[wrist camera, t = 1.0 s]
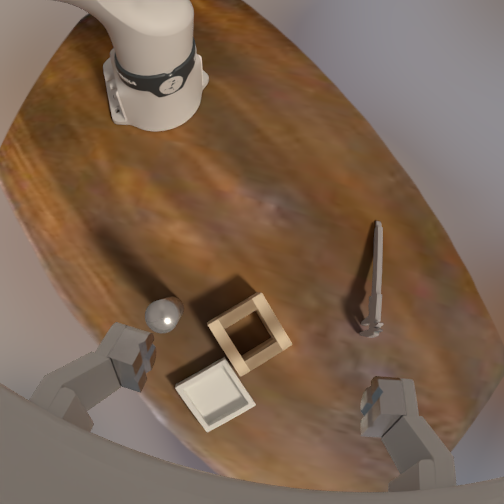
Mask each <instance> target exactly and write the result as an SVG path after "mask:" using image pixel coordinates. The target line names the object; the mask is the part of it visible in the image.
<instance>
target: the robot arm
mask: <svg viewBox="0 0 504 504" xmlns="http://www.w3.org/2000/svg"><path fill="white" fill-rule="evenodd" d="M54 1H60V2H65V3H68V4H72V5H74V6H77V7H79V8H81V9H83V10H85V11H87V12H88V13H90V14H91V15H93V16H94V17H95V18H96V19H98V20H99V21H100V22H101V23H102V24H103V26H104V27H105V28H106V30H107V32H108V34H109V36H110V39H111V42H112V44H113V47H114V48H113V49H112V50H111V52H110V58H108V59H107V61H106V62H105V63H104V64H103V72H104V77H105V83H106V88H107V94H108V99H109V104H110V110H111V115H112V119H113V122H114V123H115V124H121V125H133V126H135V127H138V128H140V129H143V130H147V131H164V130H169V129H172V128H175V127H177V126H179V125H181V124H183V123H184V122H186V121H187V120H188V119H190V118H191V117H192V116H193V114H194V113H195V112H196V110H197V109H198V107H199V104H200V101H201V95H202V91H203V89H204V88H205V86H206V85H207V84H208V81H209V76H208V74H207V73H206V72H204V71H203V70H202V58H201V56H200V55H198V54H197V53H196V45H195V40H194V38H193V20H194V10H193V7H192V4H191V2H190V1H189V0H54ZM117 111H119V112H118V113H116V112H117ZM153 341H154V336H153V333H149V332H146V331H143V330H140V329H136V328H133V327H130V326H127V325H124V324H121V323H117V322H116V323H114V324H113V325H112V326H111V328H110V330H109V331H108V333H107V334H106V336H105V337H104V339H103V340H102V342H101V344H100V345H99V347H98V348H97V350H96V352H95V353H94V352H90V353H88V354H86V355H84V356H82V357H80V358H79V359H76V360H75V361H72V362H71V363H69V364H67V365H65V366H63V367H61V368H59V369H57V370H55V371H53V372H51V373H49V374H47V375H45V376H44V377H43V379H42V381H41V382H40V384H39V385H38V387H37V388H36V390H35V391H34V393H33V395H32V396H31V398H30V399H29V400H27V399H25V398H24V397H22V396H20V395H18V394H17V393H15V392H14V391H12V390H11V389H9V388H7V387H6V386H4V385H3V384H1V383H0V504H504V477H500V478H496V479H491V480H487V481H482V482H476V483H471V484H465V485H459V486H456V476H455V466H454V457H453V456H452V454H451V453H450V452H449V450H448V449H447V448H446V446H445V445H444V444H443V442H442V441H441V440H440V439H439V437H438V436H437V435H436V433H435V432H434V431H433V429H432V428H431V427H430V426H429V424H428V423H427V422H426V420H425V419H424V418H423V417H422V416H419V413H418V406H417V399H416V392H415V386H414V382H413V380H412V379H400V378H392V377H380V376H375V377H374V378H373V379H372V380H371V386H370V387H368V388H366V390H365V391H364V393H363V396H362V399H361V412H362V413H363V415H364V418H363V419H362V420H361V436H367V437H380V438H381V440H382V441H383V443H384V445H385V447H386V449H387V450H388V452H389V454H390V456H391V458H392V459H393V461H394V463H395V465H396V467H397V468H398V470H399V472H400V475H399V476H398V477H396V478H395V479H393V480H392V481H390V482H389V492H338V491H321V490H309V489H299V488H290V487H282V486H275V485H268V484H262V483H256V482H250V481H245V480H240V479H235V478H230V477H225V476H221V475H216V474H212V473H208V472H204V471H200V470H196V469H192V468H189V467H185V466H182V465H178V464H175V463H171V462H168V461H165V460H162V459H159V458H156V457H153V456H150V455H147V454H144V453H141V452H138V451H136V450H133V449H130V448H127V447H125V446H122V445H120V444H117V443H114V442H112V441H110V440H107V439H105V438H103V437H100V436H98V435H96V434H93V433H91V432H90V431H91V429H92V427H93V425H94V423H93V421H92V419H91V418H90V416H89V414H88V413H87V411H88V410H89V409H91V408H92V407H94V406H95V405H96V404H98V403H100V402H101V401H102V400H104V399H105V398H107V397H108V396H109V395H111V394H112V393H113V392H115V391H117V390H118V389H119V388H120V387H121V386H122V387H125V388H128V389H131V390H134V391H137V392H141V391H142V389H143V387H144V385H145V383H146V380H147V376H146V373H147V372H149V371H150V370H152V368H153V365H154V363H155V359H156V347H155V346H154V345H153V344H152V343H153Z"/></svg>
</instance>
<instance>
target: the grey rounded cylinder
mask: <svg viewBox="0 0 504 504" xmlns="http://www.w3.org/2000/svg"><path fill="white" fill-rule="evenodd" d="M183 312H184V305H183V303H182V301H181V300H180V299H178V298H177V297H167V298H164V299H160V300H157V301H154V302H152V303H151V304H150V305H149V306H148V307H147V309H146V312H145V320H146V323H147V325H148V326H149V328H150V329H151V330H153V331H155V332H157V333H167V332H169V331H171V330H172V329H173V328H174V327H175V326H176V324H177V323H178V321H179V319H180V318H181V316H182V314H183Z"/></svg>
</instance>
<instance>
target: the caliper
mask: <svg viewBox="0 0 504 504" xmlns="http://www.w3.org/2000/svg"><path fill="white" fill-rule="evenodd" d="M382 250H383V227H381V222H379V221H376V228H375V232H374V258H373V280H372V296H370V297H369V316H368V317H366V318H365V319H364V320H363V321H362V322H361V325H365V326H366V325H369V330H365V331H362V332H359V334H360V335H361V336H365V337H371V338H373V337H376V336H379V332H382V331H383V330H382V329H380V327H381V326H382V325H383V324H384V323H379V322H380V319H381V304H382V294H381V279H382Z"/></svg>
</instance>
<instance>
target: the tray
mask: <svg viewBox="0 0 504 504" xmlns="http://www.w3.org/2000/svg"><path fill="white" fill-rule="evenodd" d="M175 389H176V390H177V392H178V393H179V395H180V396H181V397H182V399H183V400H184V402H185V403H186V405H187V406H188V407H189V409H190V410H191V412H192V413H193V414H194V416H195V417H196V418H197V420H198V421H199V422H200V424H201V425H202V426H203V428H204V429H205V430H206V432H209V431H211V430H213V429H215V428H216V427H218V426H220V425H222V424H224V423H226V422H227V421H229V420H231V419H233V418H235V417H236V416H238V415H240V414H242V413H243V412H245V411H247V410H248V409H250V408H252V407H254V406H255V405H256V404H255V402H254V400H253V399H252V397H251V396H250V394H249V393H248V392H247V390H246V389H245V387H244V386H243V384H242V383H241V381H240V380H239V378H238V377H237V375H236V373H235V372H234V370H233V369H232V367H231V366H230V364H229V363H228V361H227V360H226V358H225V356H224V357H223V358H221V359H219V360H217V361H216V362H214V363H212V364H211V365H209V366H207V367H205V368H204V369H202V370H200V371H198V372H197V373H195V374H193V375H191V376H190V377H188V378H186V379H184V380H182V381H181V382H179V383H177V384H176V385H175Z"/></svg>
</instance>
